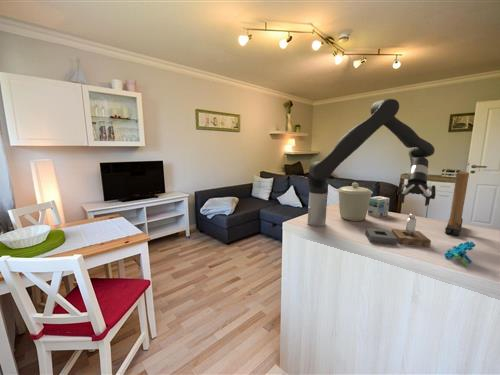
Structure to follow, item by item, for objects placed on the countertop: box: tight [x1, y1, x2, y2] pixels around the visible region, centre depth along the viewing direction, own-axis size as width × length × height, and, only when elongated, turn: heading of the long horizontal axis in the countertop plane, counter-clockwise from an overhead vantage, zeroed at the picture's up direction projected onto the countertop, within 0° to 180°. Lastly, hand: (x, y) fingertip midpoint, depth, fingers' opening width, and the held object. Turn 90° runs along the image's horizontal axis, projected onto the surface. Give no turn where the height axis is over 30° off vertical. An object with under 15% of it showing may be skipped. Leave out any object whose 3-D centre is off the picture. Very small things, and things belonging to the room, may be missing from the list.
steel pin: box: [405, 213, 417, 237], centre depth 97 cm, size 3×3×12 cm
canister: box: [337, 182, 374, 222], centre depth 126 cm, size 18×18×21 cm
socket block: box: [364, 227, 398, 246], centre depth 99 cm, size 10×10×3 cm
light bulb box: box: [367, 195, 390, 218], centre depth 134 cm, size 11×7×11 cm, turn 118°
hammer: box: [444, 171, 470, 236], centre depth 105 cm, size 20×5×30 cm, turn 134°
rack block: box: [390, 228, 432, 248], centre depth 97 cm, size 11×11×3 cm
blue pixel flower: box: [443, 241, 476, 267], centre depth 80 cm, size 11×6×10 cm
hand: (414, 203), depth 101 cm, fingers open, 8 cm apart
